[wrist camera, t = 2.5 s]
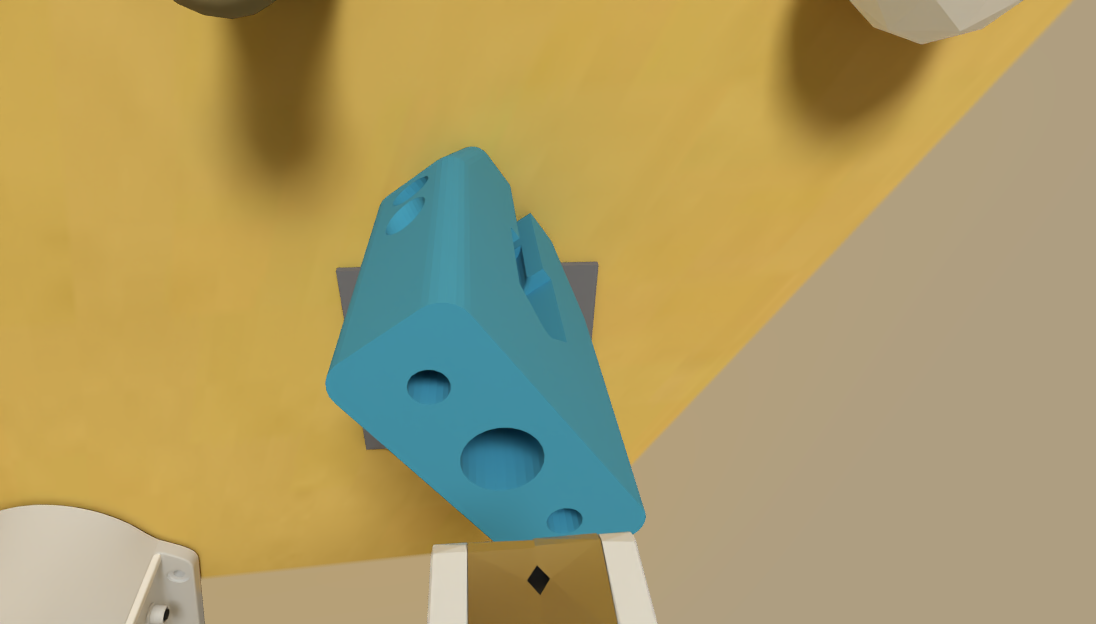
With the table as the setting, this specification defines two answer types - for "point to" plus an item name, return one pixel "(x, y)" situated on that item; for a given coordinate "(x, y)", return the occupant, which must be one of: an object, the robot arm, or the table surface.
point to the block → (482, 361)
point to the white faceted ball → (931, 16)
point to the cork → (226, 7)
